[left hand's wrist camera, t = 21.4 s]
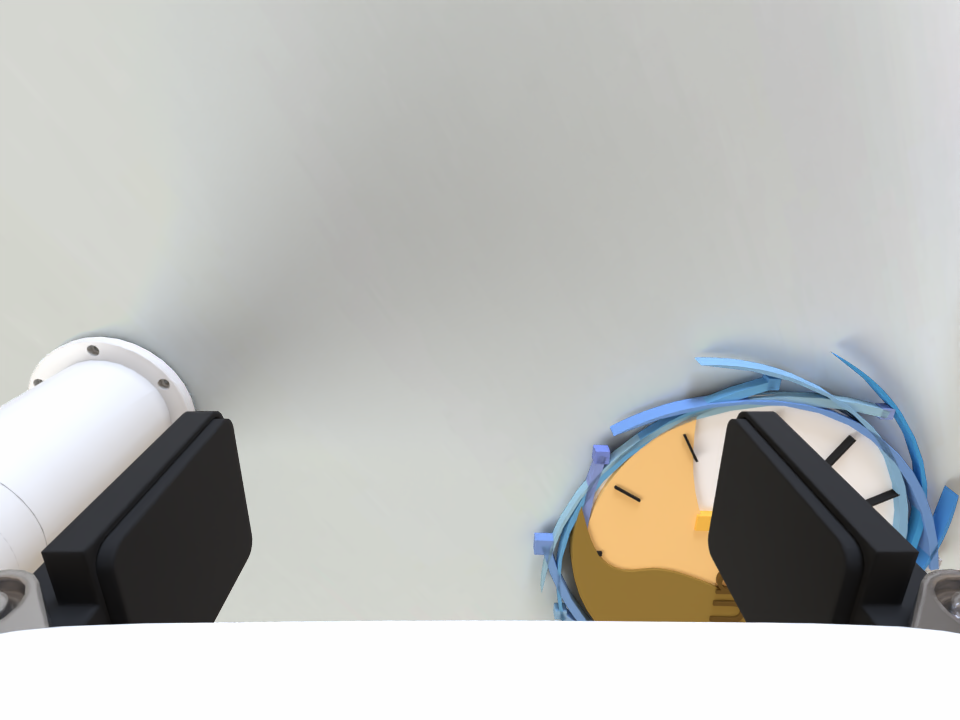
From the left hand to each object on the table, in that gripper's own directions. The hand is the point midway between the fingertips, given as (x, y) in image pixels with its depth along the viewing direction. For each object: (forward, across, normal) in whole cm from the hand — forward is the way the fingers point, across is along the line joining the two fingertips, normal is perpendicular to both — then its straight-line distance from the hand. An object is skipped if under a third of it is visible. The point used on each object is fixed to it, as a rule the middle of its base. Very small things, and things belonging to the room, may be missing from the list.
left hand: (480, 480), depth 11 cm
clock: (+33, -22, +27) cm, 48 cm away
